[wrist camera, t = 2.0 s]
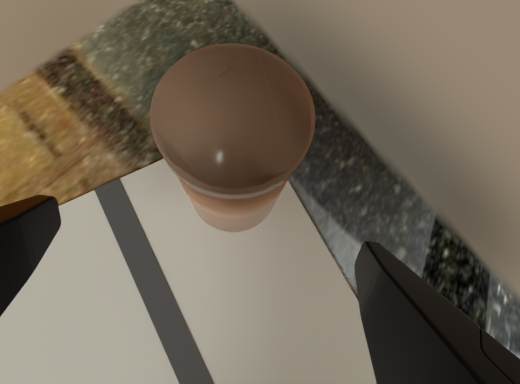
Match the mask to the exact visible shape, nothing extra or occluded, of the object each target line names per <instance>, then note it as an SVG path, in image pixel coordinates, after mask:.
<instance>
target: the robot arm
mask: <svg viewBox="0 0 520 384" xmlns="http://www.w3.org/2000/svg"><path fill="white" fill-rule="evenodd" d="M60 226H61V217H60V212H59V206H58V202H57V199H56V198H55V197H53V196H46V195H37V196H33V197H30V198H27V199H23V200H20V201H17V202H14V203H10V204H7V205H4V206H1V207H0V317H1V315H2V314H3V313H4V311H5V310H6V309H7V307H8V306H9V305H10V303H11V302H12V301H13V299H14V298H15V297H16V295H17V294H18V293H19V291H20V290H21V289H22V287H23V286H24V285H25V283H26V282H27V281H28V279H29V278H30V276H31V275H32V274H33V272H34V271H35V269H36V268H37V266H38V264H39V263H40V261H41V259H42V258H43V256H44V254H45V253H46V251H47V249H48V247H49V246H50V244H51V242H52V241H53V239H54V237H55V236H56V234H57V232H58V231H59V229H60ZM355 276H356V285H357V293H358V301H359V309H360V316H361V320H362V325H363V329H364V333H365V337H366V341H367V346H368V350H369V354H370V358H371V362H372V366H373V370H374V375H375V379H376V383H377V384H520V359H519V358H518V357H516V356H515V355H514V354H513V353H511V352H510V351H509V350H508V349H507V348H505V347H504V346H503V345H502V344H500V343H499V342H498V341H497V340H495V339H494V338H493V337H492V336H491V335H489V334H488V333H487V332H486V331H485V330H483V329H480V327H479V326H478V325H477V324H476V323H475V322H474V321H472V320H471V319H470V318H469V317H468V316H466V315H465V314H464V313H463V312H461V311H460V310H459V309H458V308H457V307H455V306H454V305H453V304H452V303H451V302H449V301H448V300H447V299H446V298H445V297H443V296H442V295H441V294H440V293H439V292H437V291H436V290H435V289H434V288H432V287H431V286H430V285H429V284H428V283H426V282H425V281H424V280H423V279H422V278H420V277H419V276H418V275H417V274H416V273H414V272H413V271H412V270H411V269H409V268H408V267H407V266H406V265H405V264H403V263H402V262H401V261H400V260H399V259H397V258H396V257H395V256H394V255H393V254H391V253H390V252H389V251H388V250H387V249H385V248H384V247H383V246H382V245H380V244H379V243H376V242H369V241H366V242H364V243H363V244H362V246H361V249H360V251H359V254H358V257H357V259H356V262H355Z"/></svg>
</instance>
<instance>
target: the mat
mask: <svg viewBox="0 0 520 384" xmlns="http://www.w3.org/2000/svg"><path fill="white" fill-rule="evenodd" d="M59 212H60V217H61V226H60V229H59V231H58V232H57V234H56V236H55V237H54V239H53V241H52V242H51V244H50V246H49V247H48V249H47V251H46V253H45V254H44V256H43V258H42V259H41V261H40V263H39V264H38V266H37V268H36V269H35V271H34V272H33V274H32V275H31V276H30V278H29V279H28V281H27V282H26V283H25V285H24V286H23V287H22V289H21V290H20V291H19V293H18V294H17V295H16V297H15V298H14V299H13V301H12V302H11V303H10V305H9V306H8V307H7V309H6V310H5V311H4V313H3V314H2V315H1V317H0V384H377V383H376V379H375V375H374V370H373V366H372V362H371V358H370V354H369V350H368V346H367V341H366V337H365V333H364V329H363V325H362V320H361V316H360V309H359V302H358V300H357V298H356V296H355V295H354V293H353V291H352V289H351V288H350V286H349V284H348V283H347V281H346V279H345V277H344V276H343V274H342V272H341V271H340V269H339V267H338V265H337V264H336V262H335V260H334V259H333V257H332V255H331V253H330V252H329V250H328V248H327V247H326V245H325V243H324V241H323V240H322V238H321V236H320V234H319V233H318V231H317V229H316V228H315V226H314V224H313V222H312V221H311V219H310V217H309V216H308V214H307V212H306V210H305V209H304V207H303V205H302V204H301V202H300V200H299V198H298V197H297V195H296V193H295V192H294V190H293V188H292V186H291V185H290V183H289V181H287V183H286V185H285V186H284V188H283V190H282V192H281V194H280V196H279V197H278V199H277V201H276V203H275V205H274V206H273V208H272V210H271V212H270V213H269V215H268V216H267V217H266V218H265V219H264V220H263V221H262V222H261V223H260V224H258V225H257V226H255V227H253V228H251V229H249V230H245V231H240V232H226V231H222V230H219V229H216V228H214V227H212V226H210V225H209V224H207V223H206V222H205V221H204V220H203V219H202V218H201V217H200V216H199V215H198V213H197V212H196V210H195V208H194V206H193V205H192V203H191V201H190V199H189V197H188V195H187V194H186V192H185V190H184V188H183V186H182V185H181V183H180V181H179V179H178V177H177V176H176V175H175V174H174V172H173V171H172V170H171V169H170V167H169V166H168V164H167V163H166V161H165V159H162V160H160V161H157V162H155V163H153V164H151V165H149V166H146V167H144V168H142V169H140V170H138V171H135V172H133V173H131V174H129V175H126V176H124V177H122V178H120V179H119V178H118V179H116V180H114V181H112V182H109V183H107V184H105V185H103V186H101V187H98V188H96V189H94V190H93V191H91V192H89V193H87V194H84V195H82V196H80V197H78V198H76V199H73V200H71V201H69V202H67V203H65V204H62V205H60V206H59Z"/></svg>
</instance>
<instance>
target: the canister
mask: <svg viewBox="0 0 520 384" xmlns="http://www.w3.org/2000/svg"><path fill="white" fill-rule="evenodd" d="M150 123H151V130H152V134H153V138H154V140H155V142H156V145H157V147H158V149H159V151H160V152H161V154H162V156H163V158H164V159H165V161H166V163H167V164H168V166H169V167H170V169H171V170H172V171H173V172H174V174H175V175H176V176H177V177H178V179H179V181H180V183H181V185H182V186H183V188H184V190H185V192H186V194H187V195H188V197H189V199H190V201H191V203H192V205H193V206H194V208H195V210H196V212H197V213H198V215H199V216H200V217H201V218H202V219H203V220H204V221H205V222H206V223H207V224H209V225H210V226H212V227H214V228H216V229H219V230H222V231H226V232H240V231H245V230H249V229H251V228H253V227H255V226H257V225H258V224H260V223H261V222H262V221H263V220H264V219H265V218H266V217H267V216H268V215H269V213H270V212H271V210H272V208H273V206H274V205H275V203H276V201H277V199H278V197H279V196H280V194H281V192H282V190H283V188H284V186H285V185H286V183H287V181H288V179H289V177H290V176H291V175H292V174H293V173H294V172H295V170H296V169H297V168H298V166H299V165H300V163H301V161H302V160H303V158H304V156H305V154H306V153H307V151H308V149H309V147H310V144H311V141H312V139H313V135H314V130H315V108H314V104H313V100H312V97H311V94H310V92H309V89H308V88H307V86H306V84H305V82H304V81H303V79H302V78H301V77H300V75H299V74H298V73H297V72H296V71H295V70H294V69H293V68H292V67H291V66H290V65H289V64H288V63H287V62H285V61H284V60H283V59H281V58H280V57H278V56H277V55H275V54H273V53H271V52H269V51H267V50H264V49H261V48H258V47H255V46H251V45H245V44H236V43H226V44H216V45H211V46H207V47H204V48H201V49H198V50H196V51H194V52H191V53H189V54H188V55H186V56H184V57H183V58H181V59H180V60H178V61H177V62H176V63H175V64H173V65H172V66H171V67H170V69H169V70H168V71H167V72H166V73H165V74H164V76H163V77H162V78H161V80H160V82H159V83H158V85H157V87H156V89H155V92H154V95H153V98H152V102H151V107H150Z"/></svg>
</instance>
